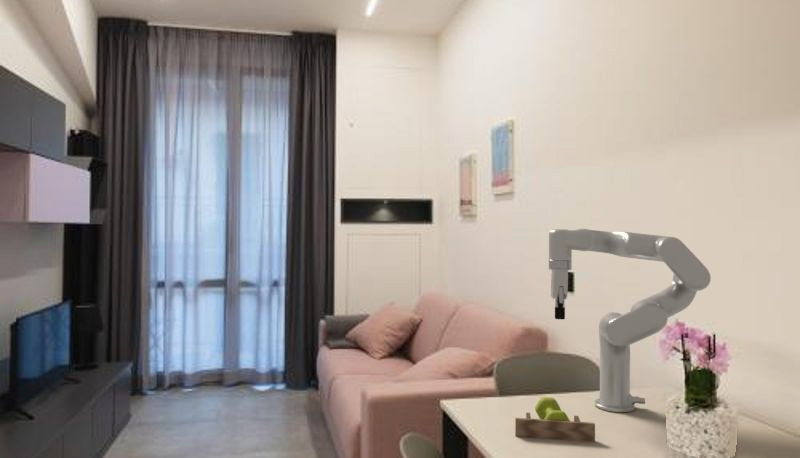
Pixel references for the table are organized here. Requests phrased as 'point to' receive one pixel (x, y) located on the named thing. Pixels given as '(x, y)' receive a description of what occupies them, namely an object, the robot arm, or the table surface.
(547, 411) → the dumbbell
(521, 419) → the walnut bay
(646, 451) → the table surface
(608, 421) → the table surface
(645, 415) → the table surface
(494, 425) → the table surface
